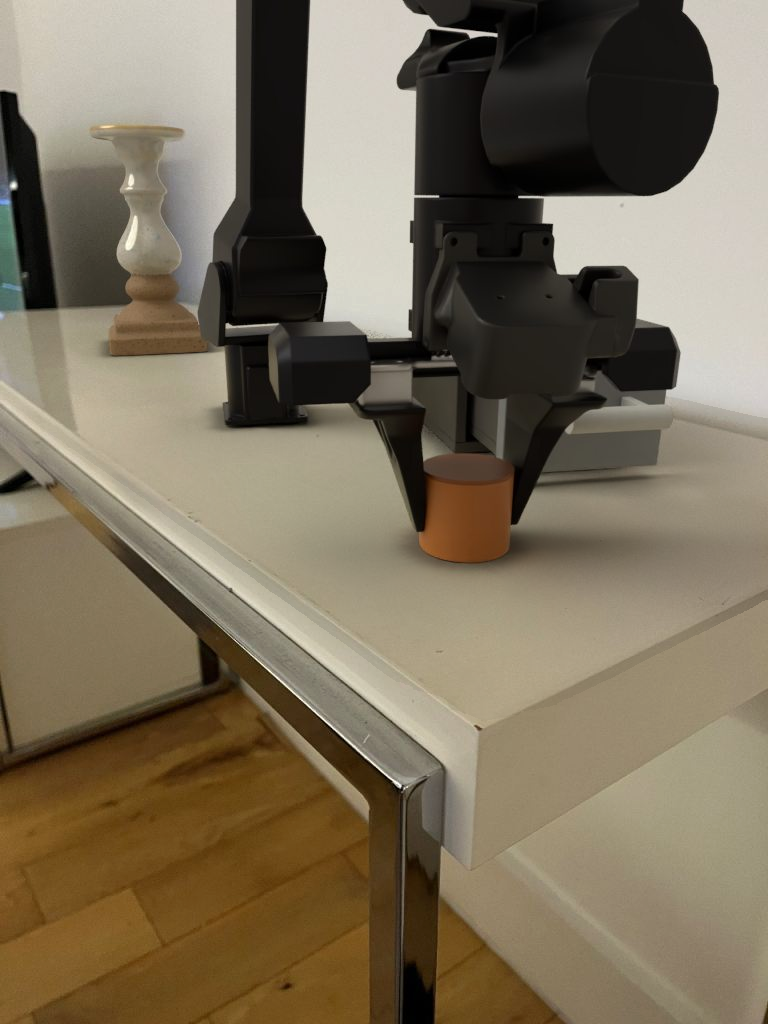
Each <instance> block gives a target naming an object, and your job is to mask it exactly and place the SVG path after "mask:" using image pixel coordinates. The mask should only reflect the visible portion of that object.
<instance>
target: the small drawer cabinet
mask: <svg viewBox="0 0 768 1024" xmlns="http://www.w3.org/2000/svg"><path fill="white" fill-rule="evenodd" d="M432 357H434V356H432ZM447 357H449V356H447ZM438 358H441V356H439V357H438ZM413 397H414V398H415V399H416V400H417V401H418V402H419V403H420V404H422V405H423V406H424V407H425V408H426V414H425V419H424V424H423V425H425V426H426V427H427V428H428V429H429V430H430V431H431V432H432V433H433V434H434V435H435V436H436V437H437V438H438V439H439V440H440V441H441V442H442V443H444V445H445V446H447V447H448V448H449V449H450V451H451V452H453V454H456V453H469V454H473V453H488V452H491V451H490V450H489V449H488V448H487V447H486V446H485V445H483V444H482V443H481V442H480V441H479V440H478V439H476V438H475V437H474V436H473V435H472V434H470V433H469V432H468V431H467V430H466V421H467V397H468V391H467V390H466V388H465V387H464V385H463V383H462V380H461V376H448V377H421V378H413Z"/></svg>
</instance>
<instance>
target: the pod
mask: <svg viewBox="0 0 768 1024" xmlns="http://www.w3.org/2000/svg"><path fill="white" fill-rule="evenodd" d="M423 465H424V479H425V494H426V518H425V530H424V532H418V533H419V535H418V536H419V537H418V544H419V547H420V548H421V550H422V551H423V552H424V553H426V554H428V555H429V556H432V557H434V558H437V559H440V560H442V561H443V560H444V561H449V562H453V563H454V562H455V563H468V564H469V563H471V564H472V563H485V562H489V561H492V560H496V559H499V558H502V557H503V556H504V555H505V554H507V553H508V551H509V550H510V543H511V526H512V525H511V513H512V498H513V482H514V467H513V465H512V464H511V463H509V462H507V461H505V460H503V459H500V458H497V457H496V456H493V455H487V454H481V453H447V454H445V453H444V454H439V455H434V456H431V457H429V458H426V459H425V460H423Z"/></svg>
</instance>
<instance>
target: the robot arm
mask: <svg viewBox="0 0 768 1024" xmlns="http://www.w3.org/2000/svg"><path fill="white" fill-rule="evenodd" d="M402 1H403V4H404V5H405V7H406V8H407V9H408V10H409V11H411V12H412V13H413V14H416V15H421V16H428V17H429V18H430V19H431V20H432V22H433V23H434V24H435V26H437V27H438V28H445V29H437V28H428V29H426V31H425V32H424V35H423V37H422V40H421V41H420V44H419V45H418V47H417V48H416V49H415V51H414V52H413V53H411V55H410V56H409V57H407V58H406V59H405V61H404V62H403V63H402V65H401V67H400V70H399V71H398V74H397V75H396V86H397V88H398V89H400V91H411V92H415V125H414V126H415V127H414V128H415V129H414V130H415V131H414V132H415V133H414V134H415V135H414V184H413V185H414V186H413V187H414V189H413V196H417V197H413V220H412V219H411V220H409V243H410V244H412V288H411V289H412V293H411V302H412V303H411V308H410V309H409V308H408V320H407V321H408V323H407V325H408V327H407V328H408V329H407V330H408V331H409V332H410V333H411V337H379V338H368V335H367V333H365V332H364V331H362V330H361V329H360V328H359V327H358V326H356V325H355V324H354V323H353V322H351V321H350V320H348V321H344V320H343V321H342V320H341V321H324V319H325V311H326V303H327V296H328V287H329V283H328V279H327V275H326V270H325V263H326V256H327V246H326V243H325V240H324V238H323V237H322V235H320V234H319V235H318V234H317V232H316V231H315V229H314V227H313V225H312V223H311V221H310V219H309V217H308V215H307V212H306V211H305V210H304V207H303V192H304V190H303V189H304V166H305V165H304V164H305V146H306V145H305V142H306V120H307V119H306V117H307V93H308V67H309V66H308V65H309V44H310V43H309V42H310V41H309V40H310V20H311V19H310V17H311V0H235V195H234V198H233V201H232V202H231V204H230V206H229V207H228V209H227V211H226V212H225V214H224V216H222V219H221V220H220V222H219V224H218V225H217V226H216V228H215V230H214V232H213V235H212V236H213V237H212V260H211V262H209V263H208V265H207V267H206V272H205V277H204V281H203V285H202V290H201V293H200V297H199V304H198V306H197V307H198V309H197V321H198V325H199V327H200V333H201V338H202V339H203V340H205V341H207V343H209V344H211V345H213V346H214V347H216V348H224V359H225V361H224V362H225V376H226V393H227V401H224V402H222V413H223V421H224V425H225V426H248V425H249V426H250V425H270V424H291V423H305V422H308V421H309V414H308V413H307V411H306V409H305V406H316V405H317V406H318V405H339V404H340V405H341V404H348V406H349V407H350V408H351V410H352V411H353V412H354V414H355V416H356V417H358V418H359V419H362V420H365V421H366V420H367V421H372V422H373V424H374V427H375V429H376V430H377V433H378V435H379V437H380V439H381V441H382V443H383V446H384V448H385V451H386V454H387V456H388V459H389V462H390V466H391V468H392V470H393V471H392V472H393V475H394V476H395V480H396V483H397V486H398V488H399V491H400V494H401V497H402V500H403V503H404V506H405V508H406V512H407V514H408V518H409V521H410V523H411V526H412V528H413V529H414V532H416V533H419V532H424V530H425V518H426V494H425V479H424V465H423V462H424V453H423V439H422V438H423V436H422V435H423V430H424V429H423V428H424V425H425V424H424V419H425V414H426V408H425V407H424V406H423V405H422V404H420V403H419V402H418V401H417V400H416V399H415V398H414V397H413V378H421V377H448V376H461V380H462V383H463V385H464V387H465V388H466V390H467V391H469V392H470V393H471V394H473V395H475V396H477V397H480V398H484V399H493V400H495V399H505V398H507V405H506V423H505V440H504V457H503V460H505V461H507V462H509V463H511V464H512V465H513V467H514V482H513V498H512V513H511V526H516V525H518V524H519V522H520V519H521V518H522V516H523V513H524V511H525V509H526V507H527V505H528V502H529V500H530V498H531V496H532V494H533V492H534V489H535V487H536V485H537V483H538V481H539V479H540V477H541V474H542V473H543V472H542V470H543V467H544V466H545V464H546V462H547V460H548V458H549V456H550V454H551V452H552V450H553V449H554V447H555V445H556V444H557V442H558V440H559V439H560V437H561V435H562V434H563V432H564V431H565V429H566V428H567V427H568V426H569V425H570V424H572V423H573V422H574V421H575V420H577V419H578V418H579V417H580V416H582V415H583V414H584V413H585V412H587V411H589V410H597V409H601V408H603V407H604V405H605V404H606V402H607V399H608V398H607V397H605V396H603V395H601V394H599V393H596V392H594V389H595V379H596V378H597V371H602V372H601V373H602V374H603V375H604V377H605V378H606V379H607V380H608V381H609V382H610V384H611V385H612V386H613V387H614V388H615V389H616V390H618V391H621V392H626V391H650V390H666V391H671V390H674V389H675V388H677V384H678V378H679V377H678V376H679V369H680V361H681V354H682V352H681V350H680V347H679V344H678V341H677V337H676V336H675V334H674V333H673V331H672V329H671V328H670V327H669V326H666V325H663V324H659V323H655V322H651V321H648V320H644V319H640V318H638V303H639V302H638V301H639V299H638V298H639V282H640V281H639V278H638V277H637V276H636V275H635V274H634V273H633V272H632V270H630V269H629V267H628V266H625V265H586V266H585V265H584V266H583V267H582V268H581V269H580V270H579V272H578V273H573V274H565V273H564V274H560V273H558V271H557V266H556V261H555V257H554V256H555V255H554V254H555V252H554V251H555V244H556V243H555V242H556V241H555V239H556V238H555V236H554V234H553V233H554V223H549V222H548V223H547V222H544V221H543V219H544V206H545V205H544V204H545V197H546V198H547V197H549V198H555V197H561V198H562V197H565V198H566V197H567V198H568V197H571V198H572V197H573V198H574V197H584V198H585V197H653V196H656V195H660V194H662V193H666V192H668V191H670V190H671V189H673V188H675V187H676V186H677V185H679V184H681V183H682V182H683V181H684V179H686V178H687V177H688V175H689V174H691V172H693V170H694V169H695V167H696V166H697V164H698V163H699V161H700V160H701V158H702V157H703V155H704V153H705V151H706V149H707V146H708V144H709V141H710V139H711V137H712V134H713V130H714V128H715V122H716V118H717V114H718V109H719V97H720V89H719V87H718V85H717V84H715V80H714V67H713V63H712V60H711V55H710V52H709V47H708V45H707V43H706V41H705V39H704V37H703V35H702V32H701V31H700V29H699V27H698V26H697V25H696V24H695V22H693V20H692V19H691V18H690V17H689V16H688V15H687V13H685V12H684V11H683V10H684V2H685V0H402ZM446 29H453V30H446ZM454 29H455V30H461V31H455V30H454ZM463 30H464V31H469V32H470V31H471V32H480V33H488V34H489V33H490V34H496V36H494V35H480V36H475V37H471V36H470V34H468V32H464V31H463ZM418 196H423V197H418ZM424 196H425V197H424ZM428 196H429V197H428ZM430 196H432V197H430ZM433 196H434V197H433ZM227 324H228V325H229V326H231V327H227ZM275 324H276V325H275ZM257 325H259V326H257ZM241 326H242V327H241ZM244 326H245V327H244ZM432 356H434V357H432ZM439 356H441V358H438V357H439ZM447 356H449V357H447Z"/></svg>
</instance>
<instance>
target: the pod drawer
mask: <svg viewBox="0 0 768 1024" xmlns="http://www.w3.org/2000/svg"><path fill="white" fill-rule="evenodd" d="M601 372H602V371H597V378H596V379H595V389H594V392H596V393H599V394H601V395H603V396H605V397H607V398H608V399H607V402H606V404H605V405H604V407H603V408H601V409H597V410H589V411H587V412H585V413H584V414H583V415H582V416H580V417H579V418H578V419H577V420H575V421H574V422H573V423H572V424H570V425H569V426H568V427H567V428H566V429H565V431H564V432H563V434H562V435H561V437H560V439H559V440H558V442H557V444H556V445H555V447H554V449H553V450H552V452H551V454H550V456H549V458H548V460H547V462H546V464H545V466H544V467H543V470H542V472H541V473H553V472H555V473H556V472H571V471H586V470H600V469H601V470H603V469H617V468H618V469H619V468H633V467H649V466H657V465H658V459H659V450H660V444H661V443H660V442H661V437H662V436H661V434H662V430H668V429H670V428H671V427H672V425H673V423H674V417H675V415H674V410H673V408H672V406H671V405H670V404H667V403H666V397H667V396H666V395H667V390H650V391H626V392H621V391H618V390H616V389H615V388H614V387H613V386H612V385H611V384H610V382H609V381H608V380H607V379H606V378H605V377H604V375H603V374H602V373H601ZM506 405H507V398H505V399H495V400H493V399H484V398H480V397H477V396H475V395H473V394H471V393H470V392H469V391H468V397H467V421H466V430H467V431H468V432H469V433H470V434H472V435H473V436H474V437H475V438H476V439H478V440H479V441H480V442H481V443H482V444H483V445H485V446H486V447H487V448H488V449H489V450H490V452H492V453H493V454H494V455H495V457H497V458H500V459H503V457H504V440H505V423H506Z"/></svg>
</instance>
